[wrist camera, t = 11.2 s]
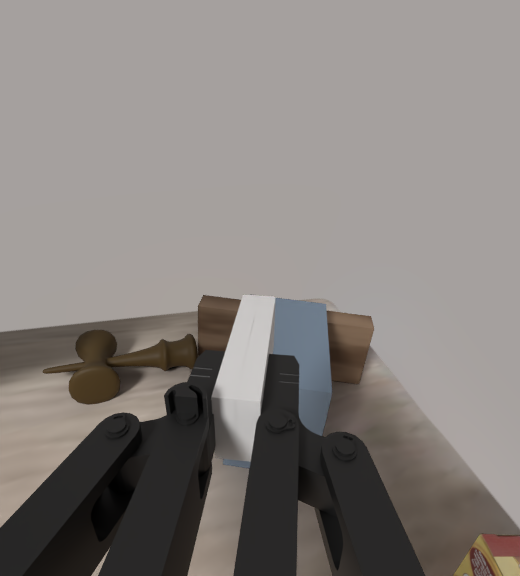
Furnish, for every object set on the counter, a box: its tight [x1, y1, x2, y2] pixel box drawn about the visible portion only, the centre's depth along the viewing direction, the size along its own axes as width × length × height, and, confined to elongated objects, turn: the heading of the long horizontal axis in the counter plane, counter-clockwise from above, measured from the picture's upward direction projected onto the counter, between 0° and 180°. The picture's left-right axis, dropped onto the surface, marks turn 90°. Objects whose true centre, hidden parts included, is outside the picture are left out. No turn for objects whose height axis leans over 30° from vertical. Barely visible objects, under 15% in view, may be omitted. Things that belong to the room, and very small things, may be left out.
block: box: [223, 298, 332, 468], centre depth 45 cm, size 16×10×13 cm, turn 173°
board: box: [198, 295, 374, 384], centre depth 54 cm, size 3×24×10 cm, turn 83°
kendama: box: [43, 330, 198, 404], centre depth 51 cm, size 6×10×20 cm
